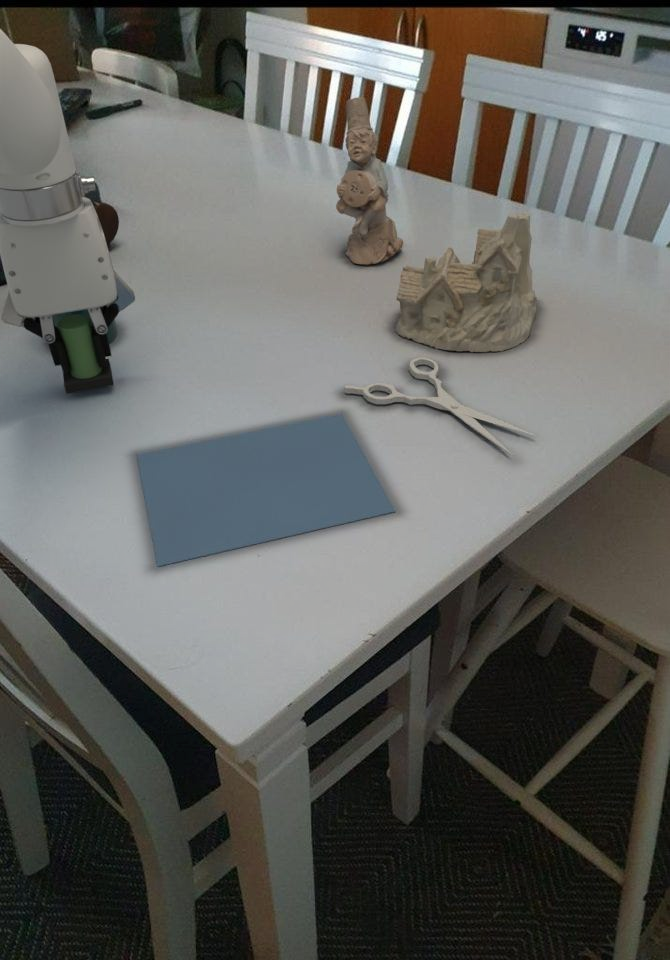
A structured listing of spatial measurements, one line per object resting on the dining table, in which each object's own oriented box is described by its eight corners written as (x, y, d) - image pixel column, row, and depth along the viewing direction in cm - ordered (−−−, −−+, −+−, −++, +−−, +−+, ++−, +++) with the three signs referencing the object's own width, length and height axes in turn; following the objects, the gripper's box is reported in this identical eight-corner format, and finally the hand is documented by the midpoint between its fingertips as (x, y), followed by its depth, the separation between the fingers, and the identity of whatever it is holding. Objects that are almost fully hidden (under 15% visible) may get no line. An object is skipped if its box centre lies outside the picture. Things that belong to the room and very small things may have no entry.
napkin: (157, 567, 67) (157, 566, 67) (136, 455, 79) (136, 454, 79) (395, 512, 71) (395, 511, 71) (341, 414, 83) (341, 413, 83)
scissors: (411, 349, 91) (560, 420, 80) (411, 355, 92) (559, 426, 80) (343, 386, 86) (492, 468, 74) (343, 392, 86) (492, 474, 75)
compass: (89, 235, 122) (78, 187, 117) (126, 246, 118) (116, 197, 114) (47, 255, 117) (34, 205, 112) (85, 267, 113) (72, 216, 109)
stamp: (66, 394, 86) (49, 334, 82) (64, 375, 89) (48, 316, 85) (114, 385, 87) (99, 326, 83) (110, 367, 90) (96, 308, 86)
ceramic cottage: (550, 299, 101) (558, 179, 91) (511, 368, 90) (515, 239, 80) (432, 285, 107) (429, 171, 97) (383, 348, 96) (373, 226, 87)
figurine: (352, 238, 118) (349, 90, 105) (408, 245, 115) (412, 94, 103) (331, 264, 111) (325, 109, 99) (390, 271, 109) (391, 114, 96)
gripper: (124, 171, 80) (157, 336, 91) (-51, 194, 76) (6, 362, 88) (132, 197, 74) (166, 369, 86) (-57, 223, 71) (5, 398, 83)
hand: (84, 364), depth 87 cm, fingers closed on stamp, 3 cm apart
